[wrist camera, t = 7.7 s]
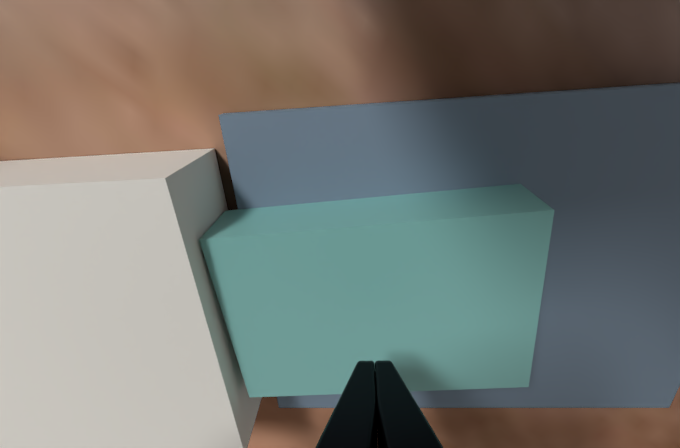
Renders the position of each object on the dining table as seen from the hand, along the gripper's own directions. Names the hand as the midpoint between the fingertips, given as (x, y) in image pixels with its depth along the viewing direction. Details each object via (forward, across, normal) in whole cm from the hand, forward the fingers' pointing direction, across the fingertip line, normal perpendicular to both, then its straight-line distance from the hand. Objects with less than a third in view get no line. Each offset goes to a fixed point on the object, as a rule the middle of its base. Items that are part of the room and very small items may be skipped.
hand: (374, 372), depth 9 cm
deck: (+4, +12, 0) cm, 12 cm away
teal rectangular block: (+4, 0, 0) cm, 4 cm away
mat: (+4, -4, 0) cm, 5 cm away
